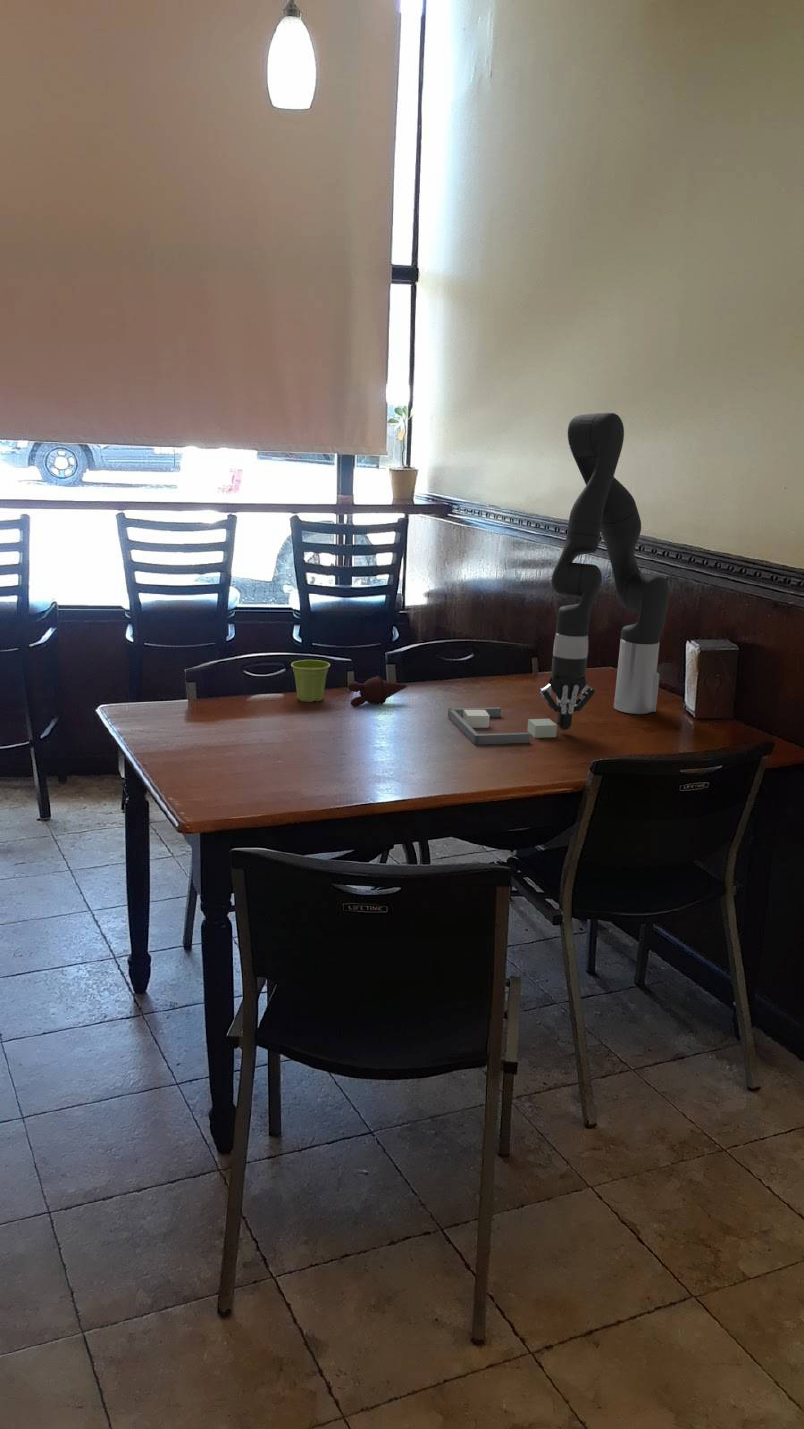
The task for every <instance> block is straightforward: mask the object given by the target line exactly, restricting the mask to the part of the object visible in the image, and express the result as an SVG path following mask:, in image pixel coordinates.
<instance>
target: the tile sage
mask: <svg viewBox="0 0 804 1429" xmlns="http://www.w3.org/2000/svg"><path fill="white" fill-rule="evenodd" d="M557 730H558V725H557V723H556V722H554V721H552V720H551V719H550V718H533V719H532V718H529V719H527V730H526V731H527V733H530V736H532V737H533V738H535V739H536V738H537V739H538V738H540V739H541V738H557V732H558V731H557Z"/></svg>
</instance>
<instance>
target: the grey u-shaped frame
mask: <svg viewBox="0 0 804 1429" xmlns="http://www.w3.org/2000/svg"><path fill="white" fill-rule="evenodd" d="M464 710H486V712H487V713H488V714H489V716H490V718H500V717H501V716H502V708H501V707H499V706H498V707H497V706H496V707H493V706H492V707H462V708H459V707H458V708H456V707H455V708H454V707H453V708H448V712H447V717H448V719H449V720H450V721H452V723H453V724H454V725H455V726H456V727H457V728H458V729H459V730H460V731H461V732H462V733H463V734H464V735H465V737H467V738H468V739H469V741H471V742H472V744H473V745H477V746H478V745H498V744H499V745H501V744H530V743H531V740H530V739H531V734H530V733H529V732H508V733H507V732H506V733H505V732H504V733H478V732H477V731H476V730H475V729H474V728H472V727H471V726H470V725H469V724H468V723H467V722H466V721H465V720H464V719H463V712H464Z"/></svg>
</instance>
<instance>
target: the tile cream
mask: <svg viewBox="0 0 804 1429" xmlns="http://www.w3.org/2000/svg"><path fill="white" fill-rule="evenodd" d="M490 718H491V717H490V716H489V714H488V713H487V712H486V710H464V712H463V719H464V720H465V721H466V722H467V723H468V724H469V725H470V726H471V727H472V728H473V729H474V728H477V729H478V728H479V729H481V728H484V729H486V728H487V729H489V728H490Z"/></svg>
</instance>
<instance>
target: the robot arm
mask: <svg viewBox="0 0 804 1429" xmlns="http://www.w3.org/2000/svg"><path fill="white" fill-rule="evenodd" d="M624 438H625V427H624V423H623V421H622V419H621V417H620V415H618V414H616V413H614V412H600V413H587V414H586V413H585V414H579V415H576V416H574V417H573V418H571V419H570V422H568V428H567V441H568V445H569V448H570V452H571V454H572V456H573V459H574V461H575V463H576V466H577V468H578V470H579V472H580V474H581V476H582V479H583V481H584V484H585V487H584V488H583V489H582V491H581V493H580V494H579V495H578V496H577V498H576V500H575V502H574V504H573V505H572V508H571V510H570V514H569V517H568V524H567V532H566V538H565V542H564V545H563V548H562V552H561V553H560V557H559V559H558V561H557V563H556V565H555V568H554V569H553V572H552V575H551V586H552V588H553V590H554V591H555V592H556V593H557V594H558V595H568V596H574V597H575V596H577V597H582V598H581V601H580V602H578V603H576V604H569V605H562V606H560V607H559V608H558V611H557V616H556V628H555V635H554V641H553V648H552V649H553V650H552V660H551V661H552V663H551V677H550V678H549V680H548V684H547V685H546V686H545V687H540V688H539V689H538V692H539V693H540V695H541V697H542V698H543V699H544V701H545V702H546V703H547V705H548V707H549V708H550V709H551V710H553V711H554V712H556V713H557V720H556V725H557V727H559V729H560V730H561V731H567V730H569V728H571V726H572V719H573V714H574V713H575V712H580V711H581V710H582V709H583V708H584V706H585V705H586V704H587V703H588V702H589V700H590V699H591V698H592V697H593V696H594V694H596V692H595V690H594V688H592V687H590V686H589V685H588V684H587V680H586V674H587V663H588V655H589V630H590V619H591V615H592V614H591V613H592V610H593V607H594V602H595V600H596V598H597V595H598V593H599V590H600V589H601V584H602V581H603V575H602V571H601V569H600V567H599V566H597V565H596V564H591V563H584V562H583V563H581V562H574V560H575V559H576V558H577V557H579V556H582V555H588V554H593V553H595V552H596V551H597V550H598V548H599V543H600V537H601V536H602V538H603V542H604V544H605V545H604V546H605V547H606V552H607V554H608V558H609V562H610V566H611V570H612V575H613V580H614V585H615V586H614V587H615V589H616V590H615V591H616V594H617V599H618V601H619V603H620V604H621V605H622V607H624V608H625V609H627V610H628V611H629V610H630V611H635V612H637V613H638V612H639V616H638V620H637V622H636V623H633V624H627V625H624V626H623V627H622V629H621V631H620V643H619V653H618V662H617V672H616V673H617V674H616V682H615V692H614V698H613V699H614V701H613V708H614V709H615V710H616V711H619V712H621V713H627V714H631V715H632V714H634V715H645V714H649V713H653V712H657V711H656V710H657V702H658V695H659V694H658V692H659V684H660V673H659V672H657V671H658V669H657V668H658V662H659V661H658V660H659V653H660V652H659V651H660V643H661V642H660V641H661V636H662V634H663V631H664V627H665V623H666V618H667V611H668V605H669V598H670V587H669V582H668V581H667V579H666V578H665V577H664V576H660V575H658V574H657V575H656V574H652V573H647V572H642V571H641V570H640V568H639V565H638V564H637V560H636V555H635V549H636V546H637V544H638V541H639V539H640V535H641V533H642V532H641V531H642V519H641V517H640V514H639V509H638V506H637V503H636V500H635V498H634V497H633V495H632V494H631V493H630V491H629V490H628V489H627V488H626V487H625V486H624V485H623V484H622V483H621V482H620V481H619V480H618V479H617V478H615V474H616V469H617V467H618V463H619V460H620V456H621V453H622V449H623V445H624V440H625V439H624ZM553 693H554V694H555V696H556V701H555V700H554V698H553V697H552V695H553ZM556 702H557V703H556Z"/></svg>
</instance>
